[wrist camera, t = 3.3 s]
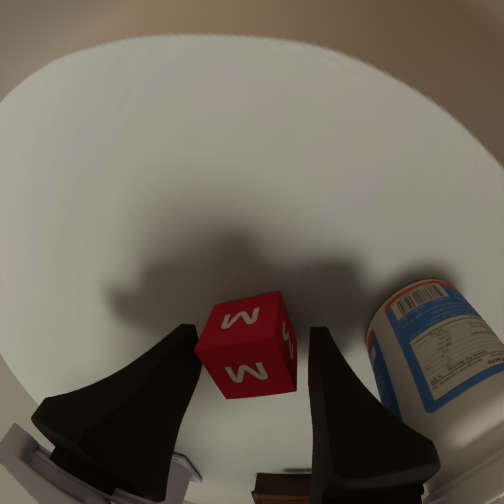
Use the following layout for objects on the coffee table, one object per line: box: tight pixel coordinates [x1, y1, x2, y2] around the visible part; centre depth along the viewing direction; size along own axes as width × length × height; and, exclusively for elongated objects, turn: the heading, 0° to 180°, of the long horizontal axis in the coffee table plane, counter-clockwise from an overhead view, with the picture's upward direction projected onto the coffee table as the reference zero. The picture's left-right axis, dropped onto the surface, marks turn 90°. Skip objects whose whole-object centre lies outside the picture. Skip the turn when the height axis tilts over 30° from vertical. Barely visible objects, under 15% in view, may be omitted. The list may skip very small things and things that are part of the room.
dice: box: [194, 291, 297, 399], centre depth 11 cm, size 3×3×3 cm
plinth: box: [254, 473, 311, 498], centre depth 19 cm, size 11×8×2 cm
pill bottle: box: [367, 279, 504, 504], centre depth 6 cm, size 6×5×10 cm
